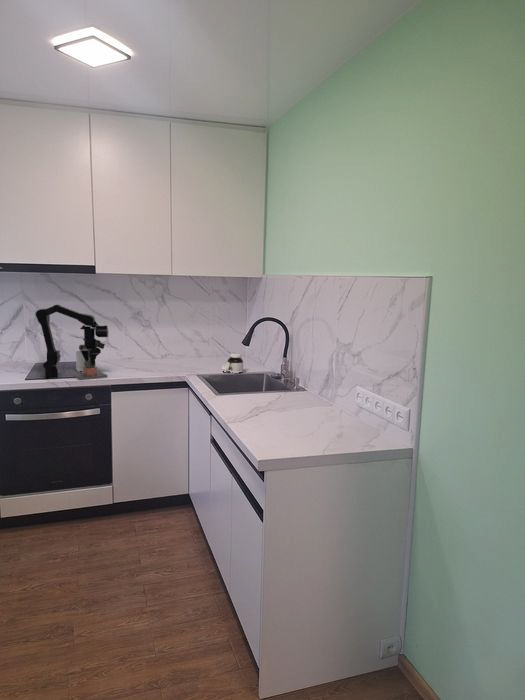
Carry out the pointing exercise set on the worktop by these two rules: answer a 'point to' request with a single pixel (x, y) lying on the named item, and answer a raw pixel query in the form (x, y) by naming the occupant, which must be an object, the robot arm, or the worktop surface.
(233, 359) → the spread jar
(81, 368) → the supplement box
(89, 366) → the jack column
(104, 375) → the stand base
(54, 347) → the robot arm
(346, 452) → the worktop surface
